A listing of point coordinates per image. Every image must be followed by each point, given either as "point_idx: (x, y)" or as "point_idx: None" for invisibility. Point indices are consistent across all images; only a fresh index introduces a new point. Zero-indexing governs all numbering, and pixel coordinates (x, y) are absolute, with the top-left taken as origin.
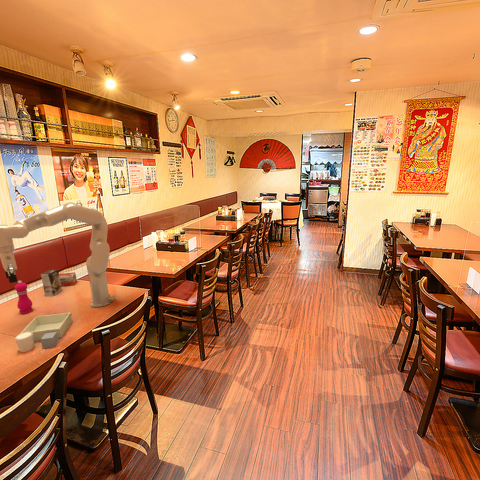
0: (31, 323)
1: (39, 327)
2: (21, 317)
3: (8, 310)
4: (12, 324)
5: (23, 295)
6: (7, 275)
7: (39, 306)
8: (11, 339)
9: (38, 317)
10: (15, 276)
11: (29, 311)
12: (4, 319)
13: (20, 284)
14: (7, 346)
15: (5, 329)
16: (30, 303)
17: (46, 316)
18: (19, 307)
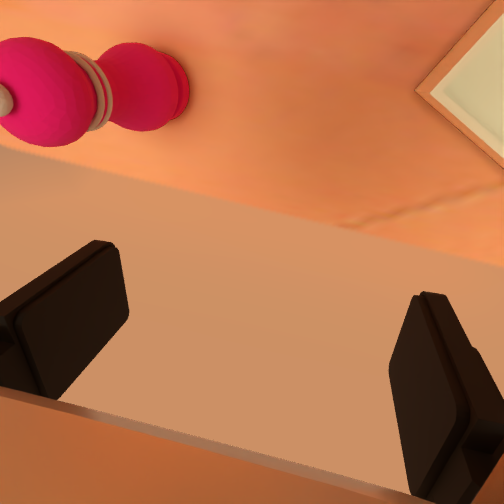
0: (499, 143)
1: (468, 93)
2: (221, 128)
3: (87, 151)
4: (272, 180)
5: (114, 93)
6: (103, 337)
7: (133, 2)
8: (440, 226)
9: (450, 81)
10: (480, 386)
11: (184, 77)
12: (183, 189)
13: (33, 102)
14: (495, 254)
15: (301, 214)
16: (157, 59)
17: (499, 27)
18: (161, 125)
